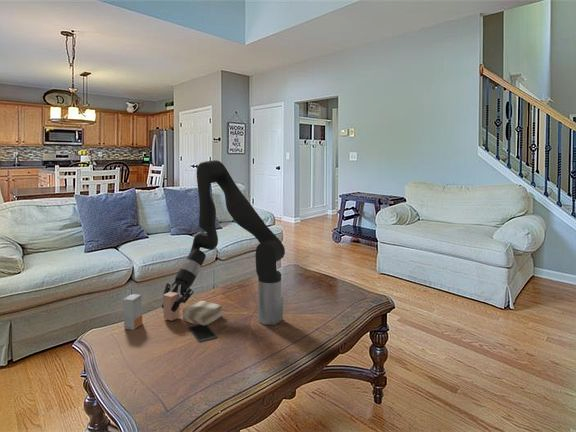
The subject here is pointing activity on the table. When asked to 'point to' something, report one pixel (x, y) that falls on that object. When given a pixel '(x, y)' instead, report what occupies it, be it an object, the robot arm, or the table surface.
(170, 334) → the table surface
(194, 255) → the robot arm
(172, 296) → the terracotta block
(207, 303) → the birch riser
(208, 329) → the cell phone
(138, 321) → the skincare box
